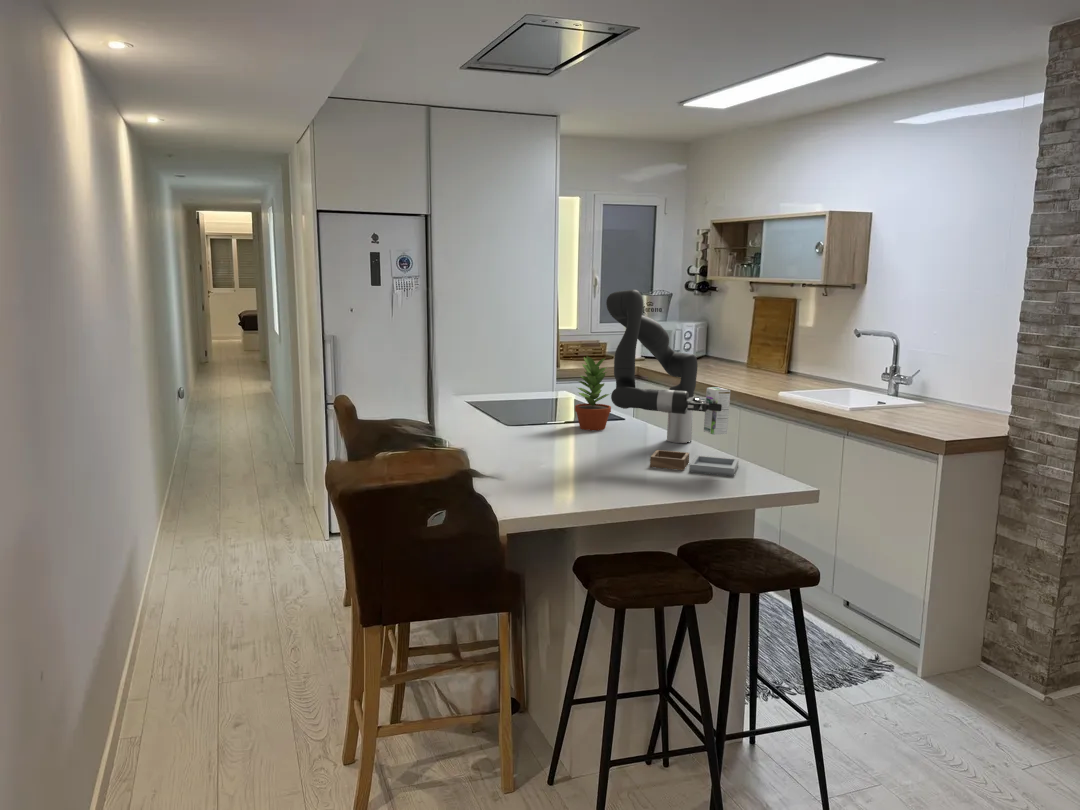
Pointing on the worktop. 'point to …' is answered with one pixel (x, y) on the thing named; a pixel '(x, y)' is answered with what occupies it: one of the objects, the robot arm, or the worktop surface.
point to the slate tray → (714, 465)
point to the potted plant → (592, 398)
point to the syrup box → (717, 419)
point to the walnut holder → (669, 459)
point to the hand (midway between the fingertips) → (723, 405)
